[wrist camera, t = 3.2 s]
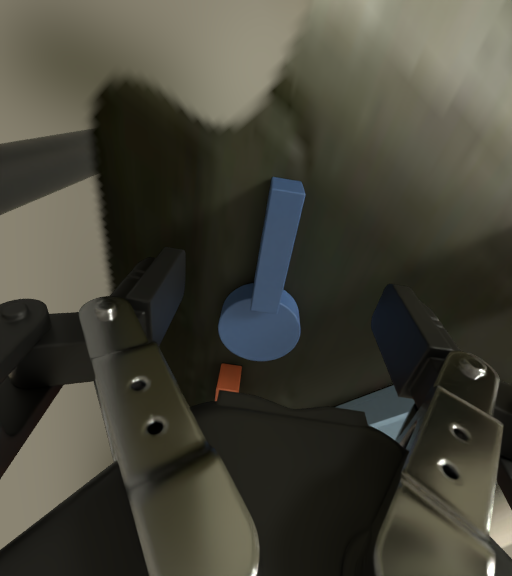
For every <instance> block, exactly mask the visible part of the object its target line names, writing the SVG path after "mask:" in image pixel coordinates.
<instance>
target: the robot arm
mask: <svg viewBox="0 0 512 576" xmlns="http://www.w3.org/2000/svg"><path fill="white" fill-rule="evenodd" d="M185 261H186V255H185V250H181V249H175V248H169V247H164V248H163V250H162V251H161V252H160V254H159V255H158V256H157V257H156V258H152V257H148V258H146V259H144V260H143V261H141V262H139V263H138V264H137V265H136V266H135V267H134V268H133V270H132V271H131V272H130V273H129V274H128V275H127V277H126V278H125V279H124V280H123V281H122V282H121V283H120V285H119V286H118V287H117V288H116V289H115V290H114V292H113V293H112V294H111V295H110V296H106V297H100V298H96V299H93V300H91V301H89V302H87V303H86V304H84V305H83V306H82V307H81V309H80V311H79V312H76V313H58V314H49V313H48V309H47V306H46V305H45V304H44V303H43V302H41V301H39V300H34V299H18V300H13V301H9V302H6V303H3V304H0V479H1V477H2V476H3V474H4V473H5V471H6V470H7V468H8V467H9V465H10V464H11V462H12V461H13V459H14V457H15V456H16V455H17V453H18V452H19V450H20V449H21V447H22V446H23V444H24V443H25V441H26V440H27V438H28V437H29V435H30V434H31V432H32V431H33V429H34V428H35V426H36V425H37V423H38V422H39V420H40V419H41V418H42V416H43V415H44V413H45V412H46V410H47V409H48V407H49V406H50V404H51V403H52V401H53V400H54V398H55V397H56V395H57V394H58V392H59V391H60V389H61V388H62V386H63V385H65V384H73V383H82V382H91V381H94V385H95V389H96V393H97V397H98V400H99V404H100V408H101V412H102V416H103V420H104V424H105V428H106V432H107V436H108V439H109V445H110V449H111V452H112V457H113V461H114V463H112V464H111V465H110V466H108V467H107V468H106V469H105V470H103V471H102V472H101V473H99V474H98V475H97V476H96V477H94V478H93V479H92V480H90V481H89V482H88V483H86V484H85V485H84V486H83V487H81V488H80V489H79V490H77V491H76V492H75V493H74V494H72V495H71V496H70V497H68V498H67V499H66V500H64V501H63V502H62V503H61V504H59V505H58V506H57V507H55V508H54V509H53V510H51V511H50V512H49V513H48V514H46V515H45V516H44V517H42V518H41V519H40V520H39V521H37V522H36V523H35V524H33V525H32V526H31V527H29V528H28V529H27V530H26V531H24V532H23V533H22V534H20V535H19V536H18V537H16V538H15V539H14V540H13V541H11V542H10V543H9V544H7V545H6V546H5V547H4V548H2V549H1V550H0V576H512V559H511V558H510V557H509V556H508V555H507V554H506V553H505V551H504V550H503V549H502V548H501V547H500V546H499V545H498V544H497V543H496V542H495V541H494V540H493V539H492V538H491V537H490V536H489V531H490V523H491V516H492V509H493V501H494V494H495V486H496V480H497V482H498V484H499V486H500V488H501V490H502V492H503V494H504V496H505V498H506V500H507V502H508V504H509V506H510V508H511V509H512V385H511V384H508V383H505V382H503V381H500V380H499V376H498V374H497V373H496V371H495V370H494V369H493V368H492V367H491V366H490V365H489V364H488V363H486V362H485V361H483V360H482V359H480V358H479V357H477V356H475V355H473V354H470V353H467V352H464V351H461V350H460V349H459V347H458V346H457V345H456V343H455V342H454V340H453V339H452V338H451V336H450V335H449V333H448V332H447V331H446V329H444V326H443V325H442V324H441V322H440V321H438V318H437V317H436V315H435V314H434V312H433V311H432V310H431V309H430V308H429V307H428V306H426V305H425V304H424V303H423V302H421V301H419V299H418V298H417V296H416V295H415V293H414V292H413V290H412V289H411V288H410V287H408V286H401V285H395V284H388V285H387V286H386V287H385V289H384V291H383V294H382V296H381V298H380V300H379V302H378V305H377V307H376V309H375V311H374V313H373V316H372V320H371V328H372V331H373V334H374V337H375V339H376V342H377V344H378V347H379V349H380V352H381V354H382V357H383V359H384V362H385V364H386V367H387V369H388V372H389V375H390V377H391V380H392V382H393V385H394V387H395V390H396V392H397V395H398V397H403V398H410V399H413V400H414V402H415V403H414V404H413V406H412V407H411V409H410V411H409V413H408V415H407V417H406V419H405V421H404V423H403V425H402V427H401V429H400V431H399V433H398V435H397V437H396V439H395V440H394V439H392V438H391V437H390V436H388V435H386V434H385V433H383V432H382V431H380V430H378V429H376V428H374V427H372V426H369V425H368V423H367V419H366V416H365V412H362V411H356V410H349V409H343V408H336V407H329V406H328V407H317V408H306V409H290V408H287V407H284V406H282V405H279V404H277V403H274V402H271V401H269V400H266V399H264V398H261V397H259V396H256V395H251V394H244V393H238V392H231V391H224V390H219V393H218V398H217V401H212V402H206V403H201V404H198V405H195V406H192V407H189V405H188V403H187V401H186V400H185V398H184V396H183V394H182V392H181V390H180V388H179V386H178V384H177V382H176V380H175V378H174V376H173V374H172V372H171V370H170V368H169V366H168V364H167V362H166V360H165V358H164V356H163V354H162V352H161V350H160V348H159V345H160V343H161V341H162V339H163V337H164V335H165V333H166V331H167V329H168V327H169V325H170V323H171V321H172V319H173V317H174V315H175V312H176V310H177V308H178V306H179V304H180V302H181V300H182V298H183V294H184V289H185Z"/></svg>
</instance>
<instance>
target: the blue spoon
mask: <svg viewBox="0 0 512 576" xmlns="http://www.w3.org/2000/svg"><path fill="white" fill-rule="evenodd" d="M304 199H305V192H304V188H303V185H302V182H301V181H295V180H289V179H283V178H277V177H272V178H271V184H270V190H269V196H268V202H267V208H266V214H265V220H264V225H263V231H262V237H261V243H260V249H259V255H258V261H257V267H256V273H255V279H254V283H250V284H246V285H244V286H241V287H239V288H237V289H236V290H234V291H233V292H232V293H231V294H230V295H229V296H228V297H227V298H226V300H225V302H224V304H223V307H222V311H221V315H220V319H219V323H218V331H219V336H220V338H221V340H222V342H223V344H224V345H225V346H226V347H227V348H228V349H229V350H230V351H231V352H233V353H234V354H236V355H238V356H239V357H242V358H245V359H248V360H253V361H269V360H274V359H277V358H280V357H282V356H284V355H286V354H287V353H289V352H290V351H291V350H292V349H293V348H294V347H295V345H296V344H297V342H298V340H299V337H300V319H299V311H298V307H297V304H296V302H295V300H294V299H293V298H292V296H291V295H290V294H289V293H287V292H286V291H285V290H283V288H284V284H285V280H286V275H287V271H288V267H289V263H290V258H291V254H292V250H293V246H294V241H295V237H296V233H297V229H298V224H299V220H300V216H301V212H302V207H303V203H304Z"/></svg>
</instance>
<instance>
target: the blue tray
mask: <svg viewBox="0 0 512 576" xmlns="http://www.w3.org/2000/svg"><path fill="white" fill-rule="evenodd" d="M414 403H415V402H414V400H413V399H410V398H403V397H398V395H397V392H396V390H395V387H394V385H392V386H390V387H387V388H384V389H382V390H379V391H376V392H374V393H371V394H368V395H366V396H363V397H360V398H358V399H355V400H352V401H350V402H347V403H344V404H342V405H339V406H336V408H343V409H349V410H356V411H362V412H365V416H366V419H367V423H368V425H369V426H372V427H374V428H376V429H378V430H380V431H382V432H383V433H385V434H386V435H388V436H390V437H391V438H392V439H394V440H395V439H396V437H397V435H398V433H399V431H400V429H401V427H402V425H403V423H404V421H405V419H406V417H407V415H408V413H409V411H410V409H411V407H412V406H413V404H414ZM496 485H497V484H496Z"/></svg>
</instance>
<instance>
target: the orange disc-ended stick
mask: <svg viewBox="0 0 512 576" xmlns="http://www.w3.org/2000/svg"><path fill="white" fill-rule="evenodd" d="M241 370H242V366H237V365H230V364H224V363H222V364H221V368H220V373H219V378H218V383H217V387H216V395H215V401H217V398H218V393H219V390H224V391H231V392H238V393H239V386H240V378H241Z"/></svg>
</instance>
